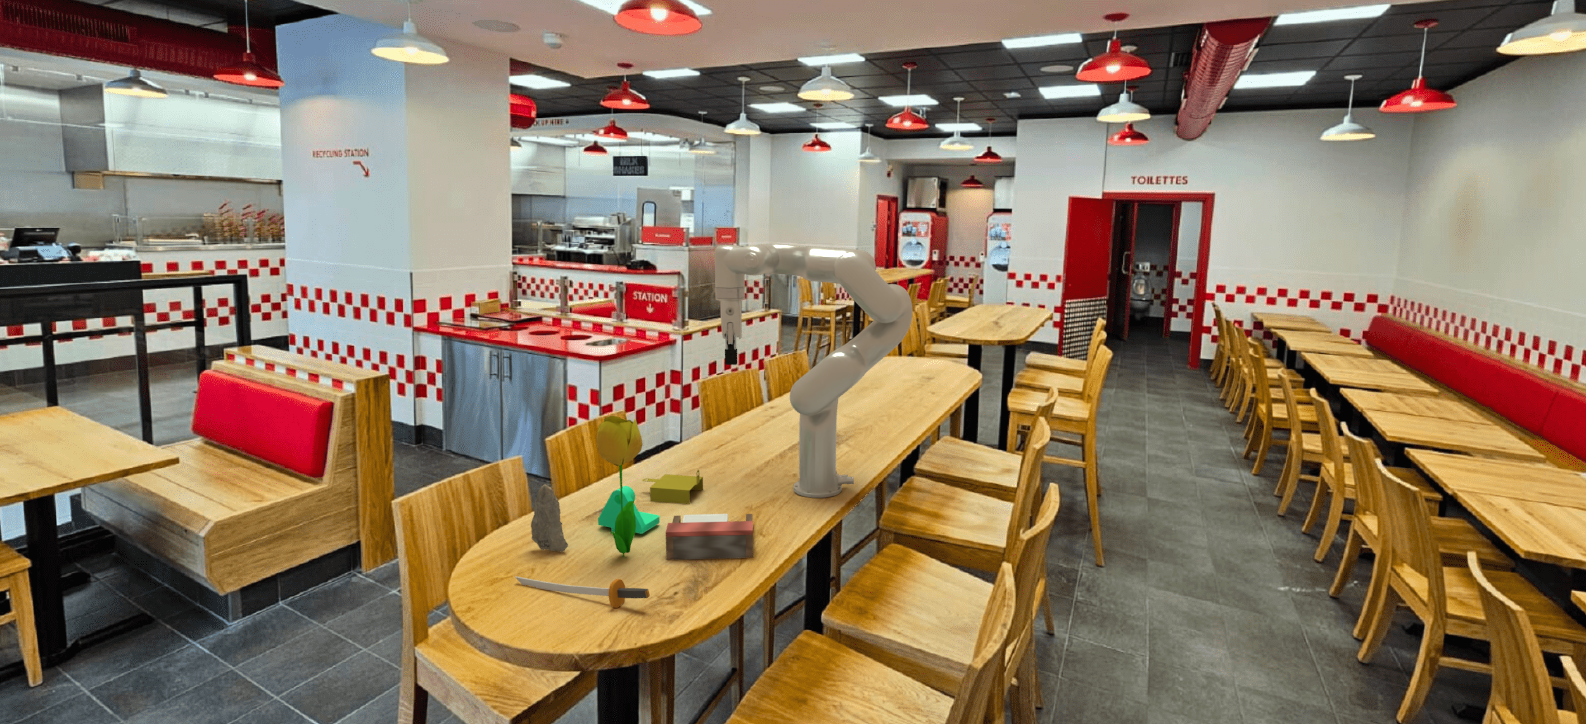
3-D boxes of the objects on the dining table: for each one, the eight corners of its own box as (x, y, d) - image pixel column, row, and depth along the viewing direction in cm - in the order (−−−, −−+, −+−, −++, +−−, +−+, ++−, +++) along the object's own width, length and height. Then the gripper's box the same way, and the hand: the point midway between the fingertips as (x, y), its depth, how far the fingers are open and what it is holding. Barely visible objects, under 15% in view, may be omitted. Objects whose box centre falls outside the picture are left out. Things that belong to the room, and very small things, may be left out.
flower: (623, 568, 160) (617, 425, 154) (595, 559, 164) (588, 419, 158) (652, 553, 167) (647, 415, 161) (624, 545, 171) (618, 410, 166)
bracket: (653, 456, 209) (707, 460, 206) (654, 484, 211) (708, 488, 208) (629, 475, 194) (687, 479, 191) (631, 505, 196) (688, 509, 193)
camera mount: (661, 526, 182) (660, 483, 180) (641, 538, 175) (640, 494, 173) (619, 517, 187) (617, 476, 185) (598, 529, 180) (596, 486, 178)
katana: (508, 588, 152) (506, 564, 151) (523, 579, 156) (521, 555, 155) (643, 618, 140) (642, 592, 139) (656, 607, 144) (655, 581, 143)
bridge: (752, 524, 183) (752, 499, 181) (753, 557, 165) (752, 530, 164) (674, 525, 182) (673, 501, 180) (666, 559, 164) (665, 532, 163)
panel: (728, 528, 181) (727, 513, 181) (726, 557, 166) (726, 542, 165) (684, 529, 181) (683, 514, 180) (678, 559, 165) (678, 543, 165)
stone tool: (572, 549, 169) (569, 482, 166) (564, 555, 166) (560, 487, 163) (538, 545, 171) (533, 479, 168) (529, 551, 168) (525, 484, 165)
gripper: (744, 296, 195) (745, 369, 199) (744, 291, 210) (745, 359, 213) (714, 297, 195) (715, 370, 198) (716, 291, 210) (717, 359, 213)
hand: (731, 364), depth 206 cm, fingers closed
